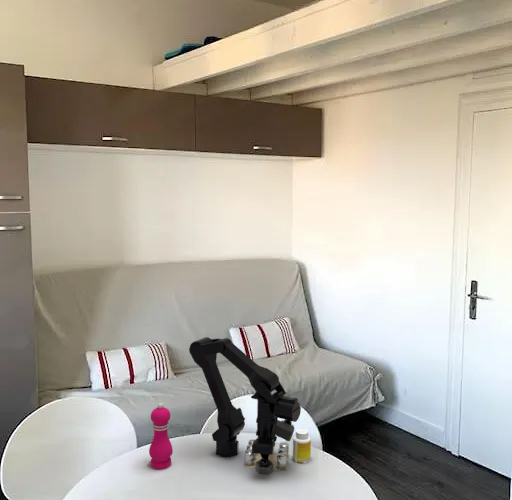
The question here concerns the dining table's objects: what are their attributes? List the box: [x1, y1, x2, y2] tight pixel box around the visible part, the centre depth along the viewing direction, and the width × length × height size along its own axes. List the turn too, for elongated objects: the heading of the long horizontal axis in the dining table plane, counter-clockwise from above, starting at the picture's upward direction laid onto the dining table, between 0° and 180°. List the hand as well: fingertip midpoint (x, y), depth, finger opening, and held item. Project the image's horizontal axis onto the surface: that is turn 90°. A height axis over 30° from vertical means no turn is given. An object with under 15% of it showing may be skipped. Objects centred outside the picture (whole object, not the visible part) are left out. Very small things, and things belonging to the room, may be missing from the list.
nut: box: [255, 459, 274, 476], centre depth 175 cm, size 5×4×3 cm
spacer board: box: [243, 453, 287, 472], centre depth 179 cm, size 13×14×1 cm
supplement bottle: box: [292, 428, 312, 464], centre depth 182 cm, size 6×6×10 cm
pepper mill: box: [148, 402, 174, 470], centre depth 179 cm, size 7×7×20 cm
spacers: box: [244, 439, 290, 471], centre depth 181 cm, size 13×10×4 cm
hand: (265, 462), depth 179 cm, fingers closed
